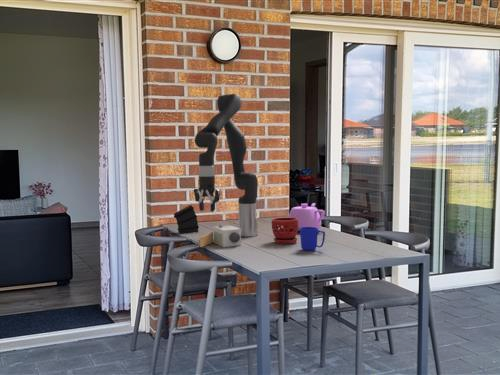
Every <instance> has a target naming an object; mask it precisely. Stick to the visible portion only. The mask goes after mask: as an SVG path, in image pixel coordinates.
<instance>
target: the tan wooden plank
mask: <svg viewBox="0 0 500 375" xmlns="http://www.w3.org/2000/svg"><path fill="white" fill-rule="evenodd" d="M213 243H214V231H211V232H209V233H207V234H204V235H202V236H199V239H198V244H199V248H203V247H205V246H207V245H210V244H213Z"/></svg>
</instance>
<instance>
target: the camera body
mask: <svg viewBox="0 0 500 375" xmlns="http://www.w3.org/2000/svg"><path fill="white" fill-rule="evenodd" d="M213 243H214V244H217V245H219V246H220V247H223V248H225V247H226V248H227V247H238V246H241V245H242V236H241V229H240V228H239V227H236V226H233V225H222V224H219V225H216V226H213Z"/></svg>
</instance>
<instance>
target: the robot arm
mask: <svg viewBox="0 0 500 375" xmlns="http://www.w3.org/2000/svg"><path fill="white" fill-rule="evenodd" d="M216 102H217V109H218V113H217V114H215V115H214V116H213V117H212V118H211V119H210V120H209V122H208V123H207V125H206V126H204V127H203V128H201V130H199V131H198V132H197V133H196V135H195V137H194V144H195V146H196V147H197V148H201V149H202V148H203V149H204V148H205V149H206V151H205V152H201V153H200V154H199V155H198V186H199V187H198V188H194V189H193V194H194V200H195V202H198V206H199V211H200V212H203V211H204V210H205V202H204V201H205V199H206V197H207V198H208V200H209V202H210V212H212V213H213V212H215V210H216V203H219V202H220V197H221V189H217V188H216V187H215V186H216V185H215V183H216V181H215V180H216V175H215V174H216V171H215V154H216V150H217V145H218V136H219V135H220V133H221V131H222V129H223V128H224V132H225V137H226V143H227V146H228V150H229V154H230V159H231V163H232V170H233V172H232V173H233V179H234V183H235V187H236V188H237V189H238V190H241V191H244V193H243V195H242V196H240V197H239V198H238V228H240V229H241V237H255V236H258V229H259V228H258V217H257V198H258V185H259V182H258V177H257V175H256V174H255V173H253V172H246V170H245V164H244V161H245V157H246V153H247V148H248V147H247V142H246V137H245V134H244V133H243V132H242V130H241V129H240V128H239V127H238V125H236V123H235V122H234V121H233V119H232V118H233V117H234V116H235V115H237V113H238V112H239V111H240V109H241V107H242V99H241V96H240V95H239V94H236V93H228V94H223V95H222V94H221V95H220V96H218V98H217V101H216Z"/></svg>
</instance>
